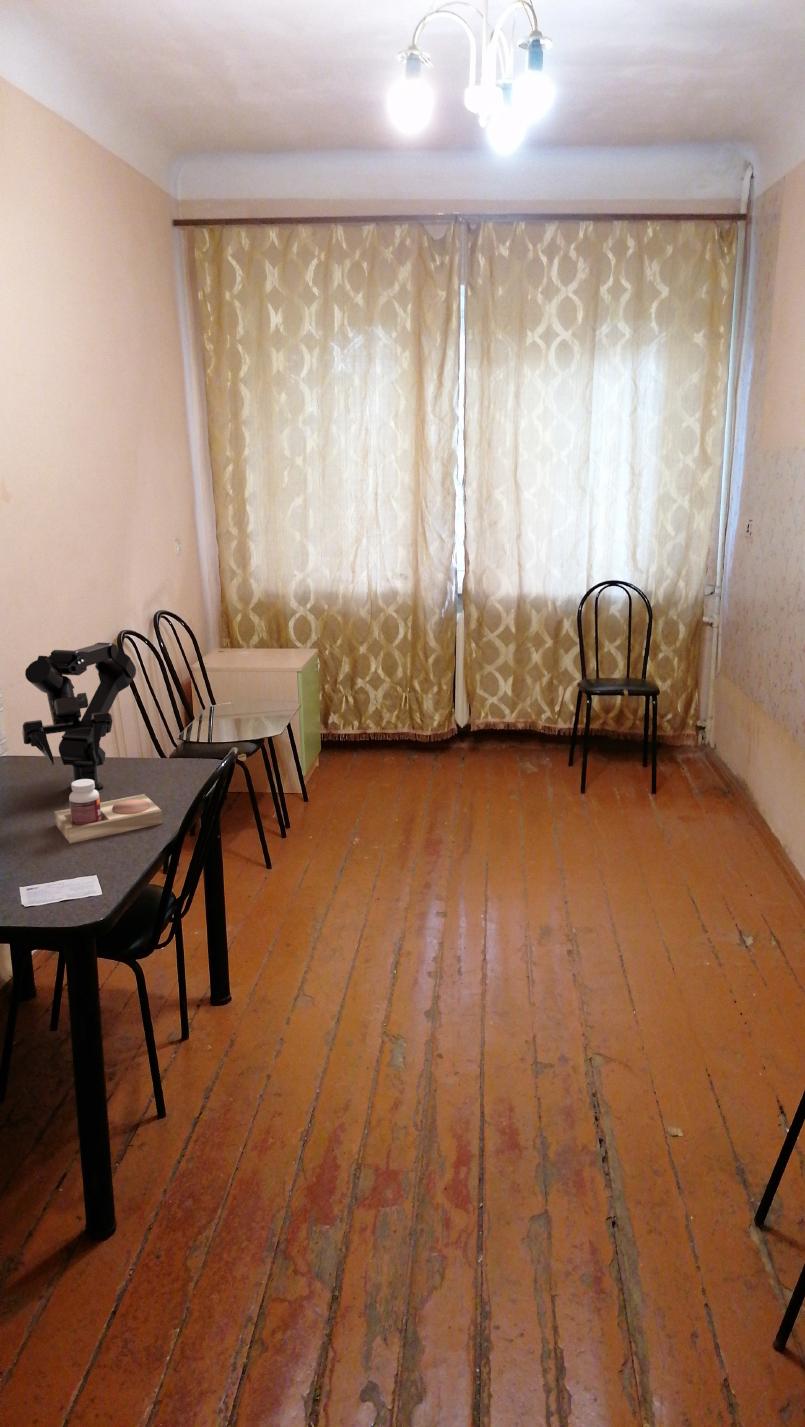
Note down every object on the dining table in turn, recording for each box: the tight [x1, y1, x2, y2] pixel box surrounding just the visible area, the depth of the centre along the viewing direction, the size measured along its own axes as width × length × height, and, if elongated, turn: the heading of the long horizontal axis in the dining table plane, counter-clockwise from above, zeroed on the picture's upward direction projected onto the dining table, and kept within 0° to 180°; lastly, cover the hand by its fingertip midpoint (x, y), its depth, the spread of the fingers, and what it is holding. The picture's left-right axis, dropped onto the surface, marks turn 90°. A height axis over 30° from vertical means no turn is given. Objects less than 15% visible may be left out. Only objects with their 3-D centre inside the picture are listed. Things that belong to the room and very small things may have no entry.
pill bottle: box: [68, 779, 102, 827], centre depth 205 cm, size 6×6×11 cm
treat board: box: [53, 793, 164, 844], centre depth 210 cm, size 12×20×3 cm, turn 123°
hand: (75, 760), depth 210 cm, fingers open, 9 cm apart
